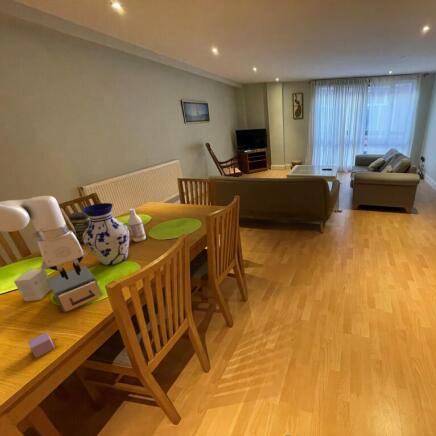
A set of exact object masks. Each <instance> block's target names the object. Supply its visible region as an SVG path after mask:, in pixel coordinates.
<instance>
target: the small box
mask: <svg viewBox="0 0 436 436" xmlns="http://www.w3.org/2000/svg"><path fill="white" fill-rule="evenodd" d="M48 278H50V277H49V276H48V274H47V271H46V269H42V268H35V269H29V270H27V271H26V272H24V273H23V274H22V275H20V276H19V277H17V278H16V279H14V280H13V282H14V285H15V286H16V288H17V290H18V291H19V293H20V295H21V297H22V298H23V300H24V302H33V301H40V300H42V299H43V298H44V297H45V296H46V295H47V294H49V293H50V291H52V289H51V287H50V285H49V283H48V281H47V279H48Z"/></svg>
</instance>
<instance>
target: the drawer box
mask: <svg viewBox="0 0 436 436" xmlns="http://www.w3.org/2000/svg"><path fill="white" fill-rule="evenodd" d="M80 269H81V271H80V275H77V273H76V272H75V269H74V268H72V269H69V270H67V271H66V273H67V276H68V278H69V279H68V280H66V279H65V277H64V278H62V276H61V274H60V273H59V274H56V275H53V276H51V277H49V278H48V279H47V281H48V283H49V285H50V287H51V289H52V290H51V292H52V294H53V296H54V298H55V299H56V301H57V304H58V305H59V308H60V309H61V311H62V312H63V313H65V310H64V308H63V306H62V304H61V301H60V299H59V297H58V296H59V293H62V292H64V291H67V290H69V289H72V288H74V287H77V286H79V285H82V284H84V283H87V282H89V281H92V282H93V281H95V282H96V284H97V287H98V289H99V292H100V294H101V296H102V295H103V294H102V292H101V289H100V286H99V284H98V281H97V279H96V277H95V275H94V274H93V273H92V272H91V271H90V269H88V267H87V266H86V265H81V266H80Z"/></svg>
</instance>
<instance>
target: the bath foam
mask: <svg viewBox="0 0 436 436" xmlns="http://www.w3.org/2000/svg"><path fill="white" fill-rule="evenodd" d="M128 213H129V217H128V219H127V225H128V229H129V232H130V235H131V237H132V241H133V242H136V243H137V242H142V241H144V240H147V236H146V232H145V228H144V225H143V221H142V219H141V217H140V216H138V215H137V213H136V210H135V208H129V209H128Z"/></svg>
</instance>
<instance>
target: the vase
mask: <svg viewBox="0 0 436 436" xmlns="http://www.w3.org/2000/svg"><path fill="white" fill-rule="evenodd" d="M113 207H114V204H113V203H111V202H102V203H94V204H91V205H86V206H85V207H83V208H81V212H85V213H86V214H87V215H88V216H89V218H90V224H89V226H88V228H87V229H86V231H85V232H84V234H83V241H84V243H83V244H84V245H85V246H86V248H87V249H88V250H89V251H90V252H91V253H92V254H93V256H95V258H97V259H98V260H99V261H100V262H101V263H102V265H103V266H114V265H118V264H121V263H123V262H125V261H126V260H127V259H128V255H129V246H130V235H131V232H130V228H129V226H128V225H126V224H125V223H123V222H121V221H119V220H118V219H116V218H115V217H114V216H113V215H112V210H113Z"/></svg>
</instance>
